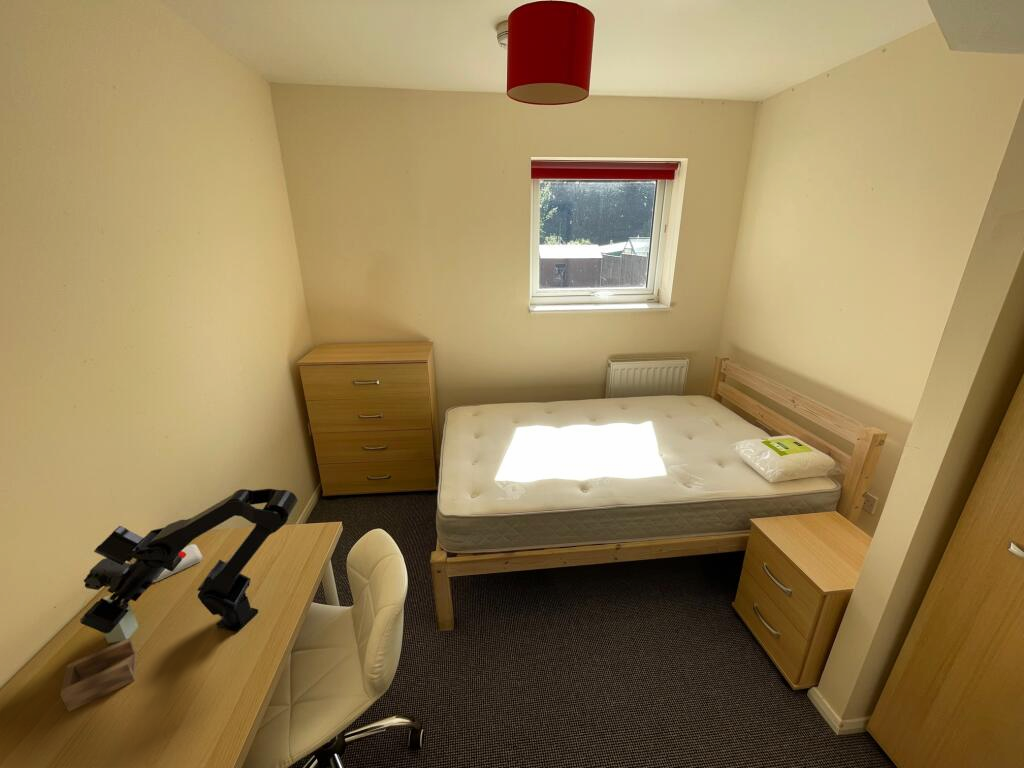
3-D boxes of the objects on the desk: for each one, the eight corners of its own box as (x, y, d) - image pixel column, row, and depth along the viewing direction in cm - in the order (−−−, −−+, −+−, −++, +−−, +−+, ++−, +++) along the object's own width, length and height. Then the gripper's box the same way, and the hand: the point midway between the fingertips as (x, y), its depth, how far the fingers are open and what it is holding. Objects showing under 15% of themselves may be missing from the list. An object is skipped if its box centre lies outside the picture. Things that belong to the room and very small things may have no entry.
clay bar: (138, 626, 103) (125, 593, 99) (126, 640, 99) (112, 607, 96) (120, 628, 102) (106, 596, 99) (108, 643, 98) (93, 610, 95)
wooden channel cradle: (136, 653, 96) (129, 637, 94) (134, 680, 90) (127, 664, 88) (75, 680, 90) (67, 664, 88) (69, 711, 84) (60, 694, 82)
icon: (192, 534, 129) (200, 549, 122) (196, 546, 130) (204, 561, 123) (140, 556, 120) (146, 573, 114) (145, 568, 122) (151, 586, 115)
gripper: (138, 525, 102) (103, 568, 104) (73, 585, 85) (33, 634, 87) (182, 548, 106) (147, 589, 108) (129, 609, 88) (89, 656, 90)
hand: (107, 613), depth 98 cm, fingers closed on clay bar, 4 cm apart
